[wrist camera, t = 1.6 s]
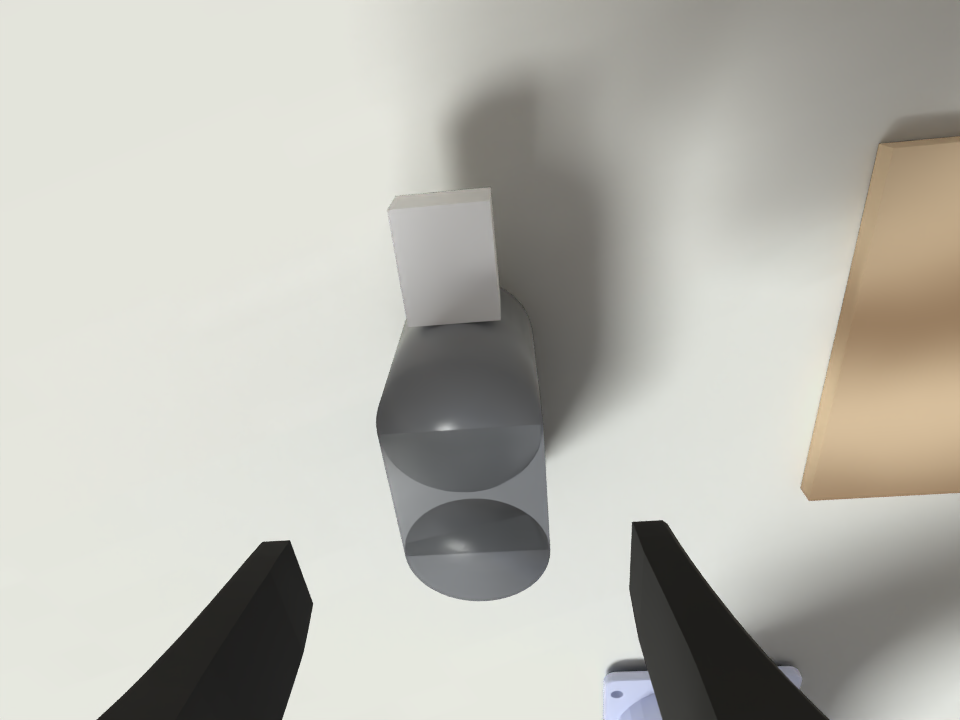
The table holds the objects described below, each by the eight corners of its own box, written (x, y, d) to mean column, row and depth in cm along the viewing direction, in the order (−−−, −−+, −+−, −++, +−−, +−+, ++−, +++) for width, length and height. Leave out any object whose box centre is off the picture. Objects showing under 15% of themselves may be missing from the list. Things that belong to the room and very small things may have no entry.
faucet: (542, 488, 20) (552, 598, 16) (431, 494, 20) (416, 603, 16) (522, 169, 15) (532, 218, 11) (374, 183, 15) (331, 236, 11)
